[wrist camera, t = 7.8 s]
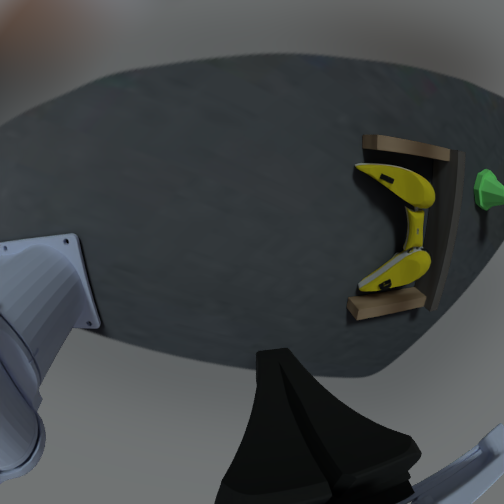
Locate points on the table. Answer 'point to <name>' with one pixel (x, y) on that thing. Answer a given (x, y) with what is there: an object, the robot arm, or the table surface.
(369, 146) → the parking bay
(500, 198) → the game piece
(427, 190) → the yellow plastic handheld tool
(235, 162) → the table surface
